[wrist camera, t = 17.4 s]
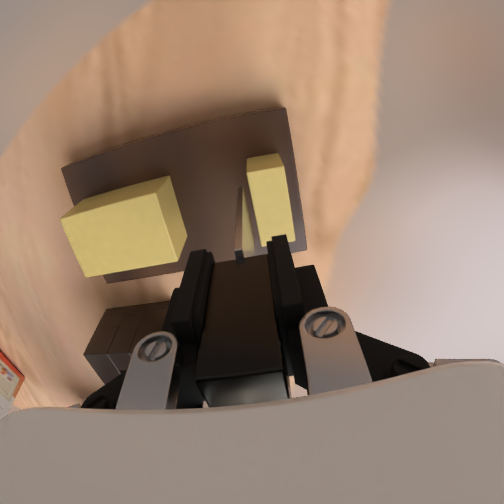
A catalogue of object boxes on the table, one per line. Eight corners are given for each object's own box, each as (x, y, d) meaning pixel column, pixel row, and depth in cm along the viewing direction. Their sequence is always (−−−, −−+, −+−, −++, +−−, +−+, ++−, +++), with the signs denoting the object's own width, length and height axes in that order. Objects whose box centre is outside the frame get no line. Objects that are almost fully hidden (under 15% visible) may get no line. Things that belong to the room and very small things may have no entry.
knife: (234, 239, 18) (223, 435, 8) (222, 190, 17) (188, 371, 6) (268, 232, 18) (295, 427, 8) (258, 183, 17) (282, 360, 6)
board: (113, 274, 25) (106, 283, 24) (70, 162, 20) (60, 168, 19) (304, 240, 24) (307, 250, 22) (283, 106, 19) (285, 107, 18)
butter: (103, 252, 22) (85, 278, 19) (82, 199, 20) (59, 218, 17) (187, 235, 22) (178, 261, 19) (169, 174, 20) (155, 192, 17)
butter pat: (259, 222, 21) (261, 247, 18) (246, 158, 19) (246, 172, 16) (289, 217, 21) (295, 241, 18) (278, 152, 19) (284, 165, 16)
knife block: (142, 371, 31) (130, 416, 26) (106, 308, 27) (82, 354, 22) (202, 367, 31) (196, 416, 26) (173, 300, 26) (158, 350, 21)
